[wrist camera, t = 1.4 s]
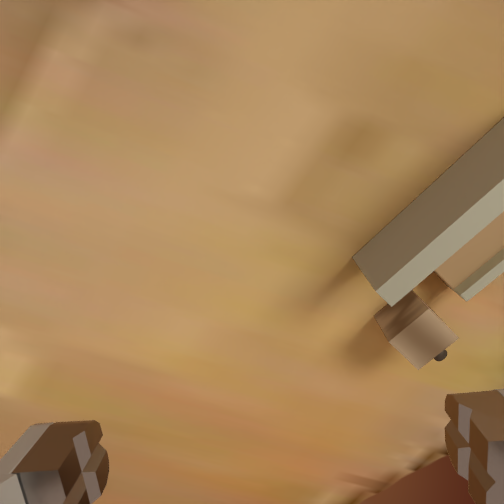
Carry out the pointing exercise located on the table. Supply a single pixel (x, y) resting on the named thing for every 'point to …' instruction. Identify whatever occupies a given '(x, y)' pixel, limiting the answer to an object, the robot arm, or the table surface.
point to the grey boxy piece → (446, 229)
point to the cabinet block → (415, 330)
